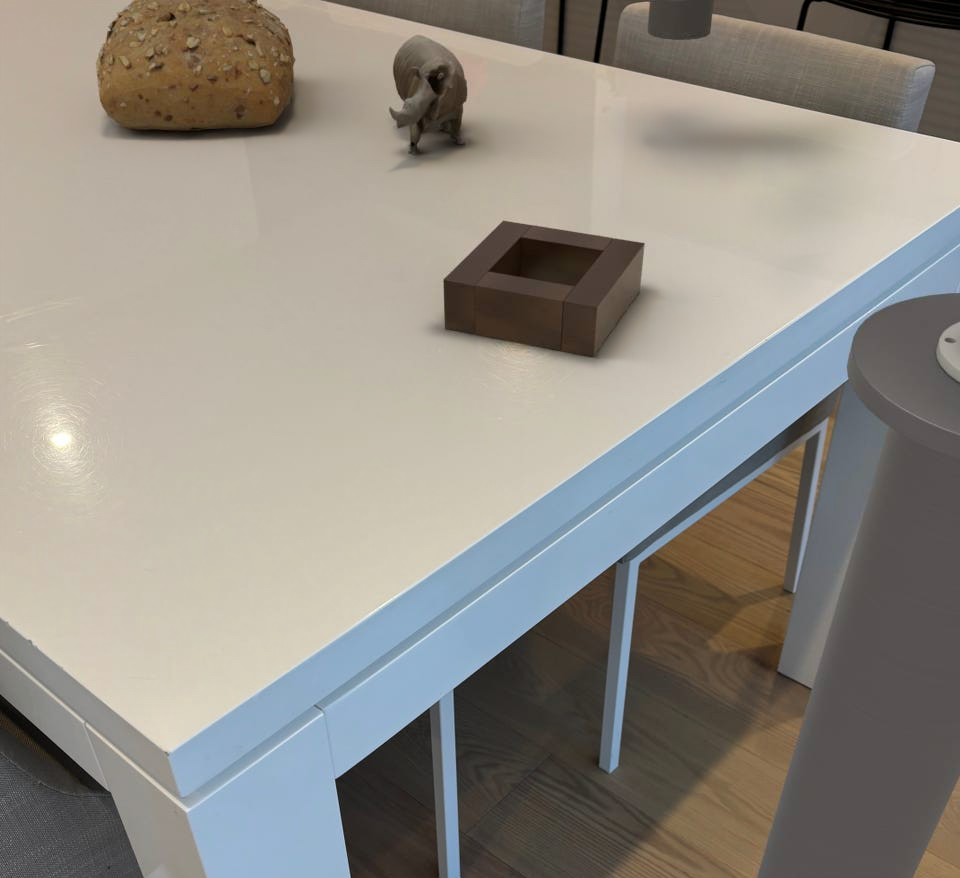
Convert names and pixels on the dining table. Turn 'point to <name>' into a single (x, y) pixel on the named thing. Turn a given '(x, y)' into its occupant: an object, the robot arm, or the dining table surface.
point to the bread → (195, 65)
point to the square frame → (544, 287)
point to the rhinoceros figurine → (429, 89)
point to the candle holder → (680, 19)
